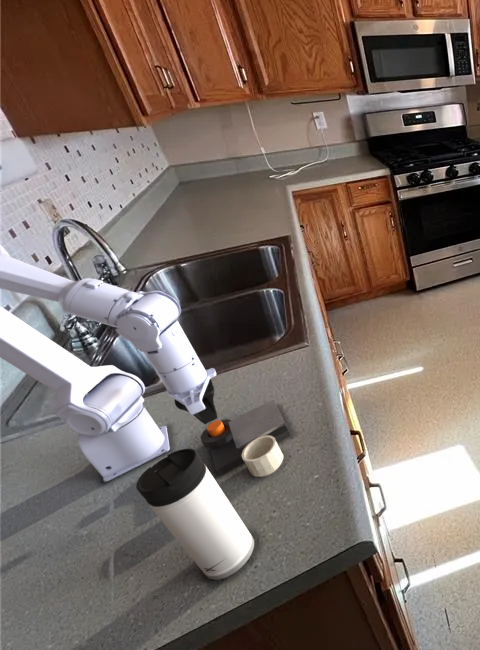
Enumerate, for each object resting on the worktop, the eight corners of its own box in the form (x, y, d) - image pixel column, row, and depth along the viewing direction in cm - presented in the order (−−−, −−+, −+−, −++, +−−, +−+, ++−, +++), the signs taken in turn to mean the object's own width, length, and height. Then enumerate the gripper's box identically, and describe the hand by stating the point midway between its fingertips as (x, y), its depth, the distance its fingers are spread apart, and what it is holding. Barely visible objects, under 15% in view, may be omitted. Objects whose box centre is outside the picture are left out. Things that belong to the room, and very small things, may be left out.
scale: (214, 478, 71) (207, 466, 70) (205, 441, 79) (198, 430, 77) (291, 435, 78) (285, 424, 77) (276, 405, 86) (271, 394, 84)
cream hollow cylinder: (255, 484, 70) (245, 467, 68) (248, 465, 73) (238, 447, 71) (287, 465, 72) (279, 448, 70) (279, 447, 76) (271, 430, 74)
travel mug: (220, 591, 56) (146, 500, 46) (197, 565, 59) (123, 474, 49) (264, 548, 60) (205, 457, 51) (241, 526, 63) (181, 436, 54)
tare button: (211, 439, 76) (207, 432, 75) (209, 431, 77) (205, 425, 76) (226, 431, 77) (222, 425, 76) (224, 424, 79) (220, 418, 78)
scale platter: (237, 450, 73) (236, 447, 72) (229, 424, 78) (228, 422, 78) (285, 424, 77) (284, 422, 77) (274, 401, 82) (273, 399, 82)
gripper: (210, 370, 66) (243, 429, 73) (198, 333, 76) (227, 387, 83) (156, 393, 62) (196, 453, 69) (151, 351, 72) (186, 407, 79)
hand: (210, 419), depth 75 cm, fingers closed
